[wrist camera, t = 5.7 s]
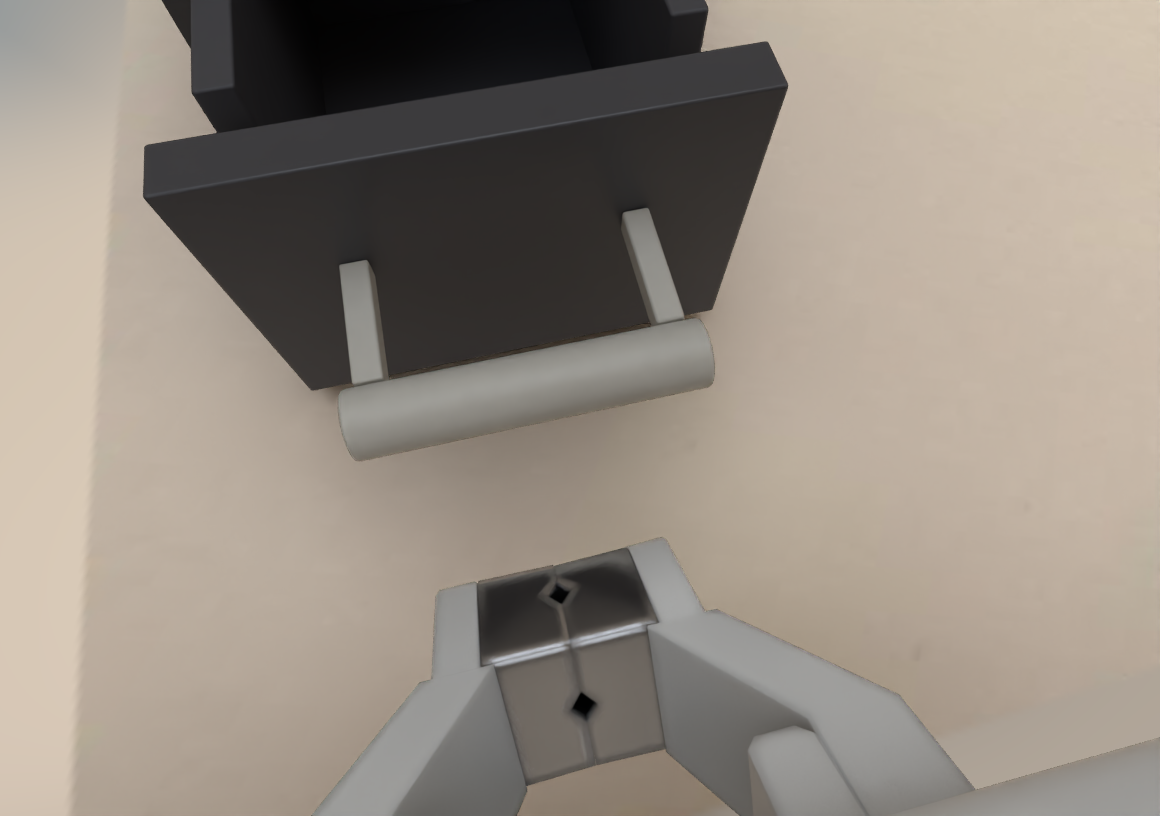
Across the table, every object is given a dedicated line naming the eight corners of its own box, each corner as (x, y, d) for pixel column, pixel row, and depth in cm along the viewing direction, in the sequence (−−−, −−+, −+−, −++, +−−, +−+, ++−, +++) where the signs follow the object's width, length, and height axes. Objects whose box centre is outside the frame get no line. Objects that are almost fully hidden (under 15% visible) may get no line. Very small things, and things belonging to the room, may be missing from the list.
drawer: (760, 444, 18) (881, 275, 11) (323, 542, 17) (134, 426, 10) (601, -4, 25) (610, -291, 18) (282, 46, 24) (152, -237, 16)
